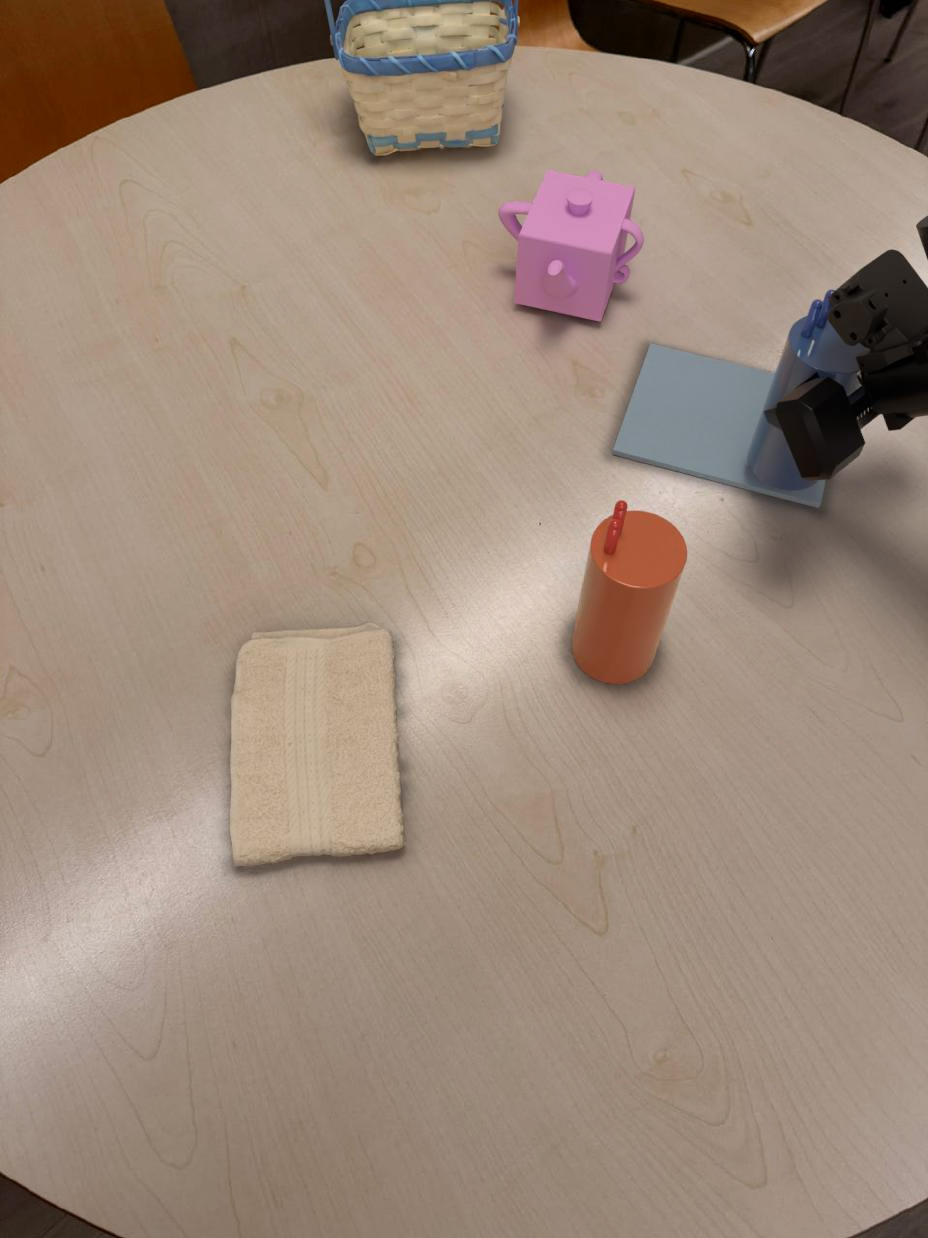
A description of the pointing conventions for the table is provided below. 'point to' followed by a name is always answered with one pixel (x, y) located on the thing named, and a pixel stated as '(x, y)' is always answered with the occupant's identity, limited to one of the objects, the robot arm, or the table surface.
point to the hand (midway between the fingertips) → (794, 395)
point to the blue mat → (700, 420)
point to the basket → (426, 69)
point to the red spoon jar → (626, 594)
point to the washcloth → (314, 746)
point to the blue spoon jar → (801, 358)
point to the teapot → (572, 243)
